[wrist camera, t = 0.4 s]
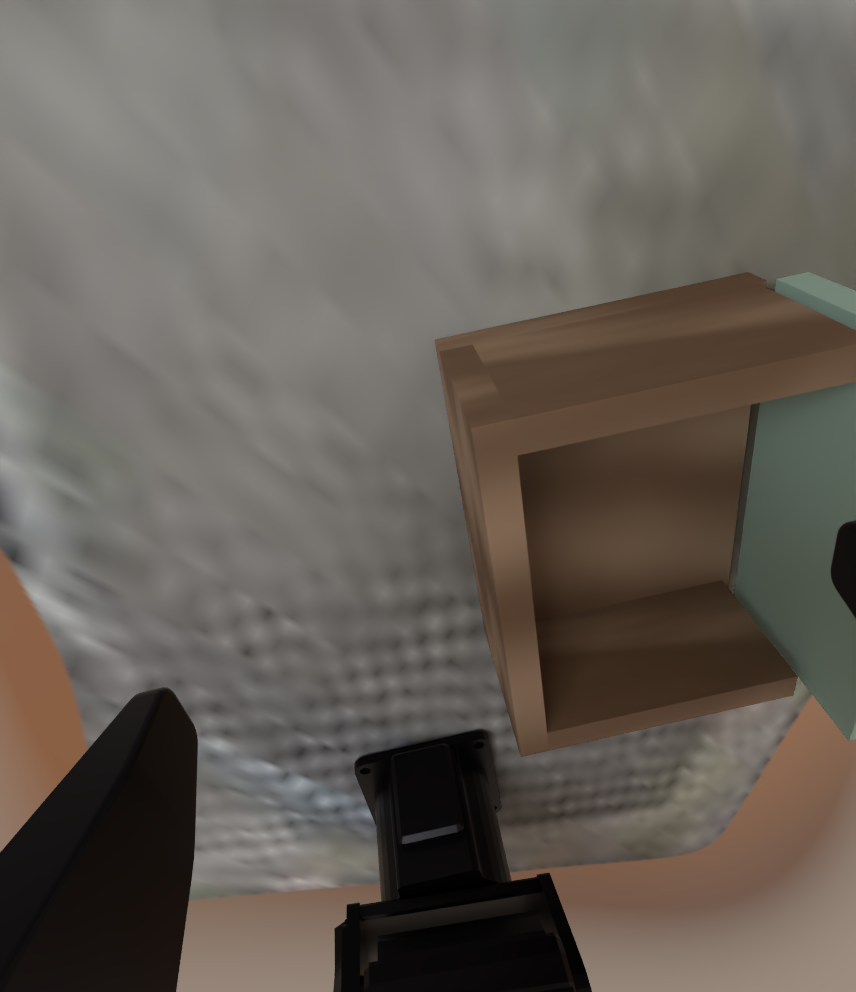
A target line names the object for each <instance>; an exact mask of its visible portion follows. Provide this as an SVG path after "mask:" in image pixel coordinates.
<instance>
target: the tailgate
mask: <svg viewBox="0 0 856 992" xmlns="http://www.w3.org/2000/svg"><path fill="white" fill-rule="evenodd" d="M775 292H777V293H779V294H781V295H783V296H785V297H787V298H789V299H791V300H793V301H795V302H798V303H800V304H802V305H804V306H806V307H808V308H810V309H812V310H814V311H816V312H819V313H821V314H823V315H825V316H827V317H829V318H831V319H833V320H835V321H837V322H839V323H842V324H844V325H846V326H848V327H850V328H852V329H854V330H856V291H855V290H852V289H850V288H848V287H845V286H843V285H840V284H838V283H835V282H833V281H830V280H828V279H825V278H823V277H820V276H818V275H815V274H813V273H810V272H806V273H801V274H797V275H792V276H787V277H783V278H778V279H776V285H775ZM853 520H856V382H852V383H848V384H843V385H838V386H834V387H829V388H825V389H820V390H816V391H811V392H806V393H802V394H797V395H793V396H788V397H784V398H779V399H774V400H770V401H765V402H761V403H760V405H759V412H758V420H757V427H756V434H755V442H754V449H753V457H752V464H751V472H750V479H749V487H748V494H747V501H746V509H745V516H744V524H743V531H742V539H741V546H740V554H739V561H738V568H737V576H736V583H735V591H734V596H735V597H736V598H737V599H738V601H739V602H740V603H741V605H742V606H743V607H744V608H745V610H746V611H747V612H748V613H749V615H750V616H751V617H752V618H753V620H754V621H755V622H756V624H757V625H758V626H759V627H760V629H761V630H762V631H763V632H764V634H765V635H766V636H767V638H768V639H769V640H770V641H771V643H772V644H773V645H774V646H775V648H776V649H777V650H778V652H779V653H780V654H781V655H782V657H783V658H784V659H785V660H786V662H787V663H788V664H789V665H790V667H791V668H792V669H793V671H794V672H795V673H796V674H797V676H798V677H799V678H800V679H801V681H802V682H803V683H804V685H805V686H806V687H807V688H808V690H809V691H810V692H811V693H812V695H813V696H814V697H815V698H816V700H817V701H818V702H819V704H820V705H821V706H822V707H823V709H824V710H825V711H826V712H827V714H828V715H829V716H830V718H831V719H832V720H833V721H834V723H835V724H836V725H837V726H838V728H839V729H840V730H841V731H842V733H843V734H844V735H845V736H846V738H847V739H848V740H849V741H852V740H856V619H855V617H854V616H853V614H852V613H851V611H850V610H849V608H848V607H847V605H846V604H845V602H844V601H843V599H842V598H841V596H840V595H839V593H838V592H837V590H836V588H835V587H834V584H833V582H832V579H831V564H832V559H833V554H834V548H835V543H836V538H837V533H838V530H839V528H840V527H841V526H842V524H844V523H846V522H849V521H853Z"/></svg>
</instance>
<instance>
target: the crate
mask: <svg viewBox="0 0 856 992" xmlns="http://www.w3.org/2000/svg"><path fill="white" fill-rule="evenodd" d="M766 282H767V281H766V280H763V279H761V278H759V277H757V276H755V275H753V274H751V273H744V274H739V275H734V276H730V277H725V278H720V279H716V280H711V281H706V282H702V283H697V284H693V285H688V286H683V287H679V288H674V289H669V290H665V291H660V292H655V293H651V294H646V295H641V296H637V297H632V298H628V299H623V300H618V301H614V302H609V303H604V304H600V305H595V306H590V307H586V308H581V309H576V310H572V311H567V312H562V313H558V314H553V315H549V316H544V317H539V318H535V319H530V320H525V321H521V322H516V323H511V324H507V325H502V326H497V327H493V328H488V329H484V330H479V331H474V332H470V333H465V334H460V335H456V336H451V337H446V338H442V339H437V340H435V344H436V350H437V355H438V361H439V367H440V373H441V379H442V384H443V390H444V396H445V402H446V408H447V413H448V419H449V425H450V431H451V437H452V443H453V448H454V454H455V460H456V466H457V472H458V477H459V483H460V489H461V495H462V501H463V506H464V512H465V518H466V524H467V530H468V535H469V541H470V547H471V553H472V559H473V564H474V570H475V576H476V582H477V588H478V593H479V599H480V605H481V611H482V617H483V623H484V628H485V633H486V637H487V640H488V644H489V647H490V651H491V654H492V658H493V661H494V665H495V668H496V672H497V675H498V679H499V682H500V686H501V689H502V693H503V696H504V700H505V703H506V707H507V710H508V714H509V717H510V721H511V724H512V728H513V731H514V735H515V738H516V741H517V745H518V748H519V752H520V755H521V757H522V756H527V755H531V754H536V753H540V752H545V751H549V750H553V749H558V748H562V747H567V746H571V745H576V744H580V743H584V742H589V741H593V740H598V739H602V738H607V737H611V736H615V735H620V734H624V733H629V732H633V731H637V730H642V729H646V728H651V727H655V726H660V725H664V724H668V723H673V722H677V721H682V720H686V719H691V718H695V717H699V716H704V715H708V714H713V713H717V712H722V711H726V710H730V709H735V708H739V707H744V706H748V705H753V704H757V703H761V702H766V701H770V700H775V699H779V698H784V697H788V696H792V695H793V694H794V690H795V686H796V682H797V677H798V676H797V675H796V674H795V672H794V671H793V670H792V669H791V667H790V666H789V665H788V663H787V662H786V661H785V660H784V658H783V657H782V656H781V655H780V653H779V652H778V651H777V649H776V648H775V647H774V646H773V644H772V643H771V642H770V641H769V639H768V638H767V637H766V636H765V634H764V633H763V632H762V630H761V629H760V628H759V627H758V625H757V624H756V623H755V622H754V620H753V619H752V618H751V616H750V615H749V614H748V613H747V611H746V610H745V609H744V608H743V606H742V605H741V604H740V602H739V601H738V600H737V599H736V597H735V596H734V595H733V594H732V592H731V591H730V590H729V588H728V584H729V576H730V568H731V560H732V552H733V544H734V536H735V528H736V520H737V512H738V504H739V496H740V488H741V481H742V473H743V465H744V457H745V449H746V441H747V433H748V425H749V417H750V409H751V405H752V404H756V403H761V402H765V401H770V400H774V399H779V398H784V397H788V396H793V395H797V394H802V393H806V392H811V391H816V390H820V389H825V388H829V387H834V386H838V385H843V384H848V383H852V382H856V330H854V329H852V328H850V327H848V326H846V325H844V324H842V323H839V322H837V321H835V320H833V319H831V318H829V317H827V316H825V315H823V314H821V313H819V312H816V311H814V310H812V309H810V308H808V307H806V306H804V305H802V304H800V303H798V302H795V301H793V300H791V299H789V298H787V297H785V296H783V295H781V294H779V293H777V292H775V291H772V290H770V289H768V288H766Z"/></svg>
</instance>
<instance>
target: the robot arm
mask: <svg viewBox="0 0 856 992" xmlns="http://www.w3.org/2000/svg"><path fill="white" fill-rule="evenodd" d="M831 579H832V582H833V584H834V587H835V588H836V590H837V592H838V593H839V595H840V596H841V598H842V599H843V601H844V602H845V604H846V605H847V607H848V608H849V610H850V611H851V613H852V614H853V616H854V617H855V619H856V520H853V521H849V522H846V523H844V524H842V526H841V527H840V528H839V530H838V533H837V538H836V543H835V548H834V554H833V559H832V564H831ZM197 752H198V739H197V733H196V729H195V726H194V724H193V722H192V721H191V719H190V718H189V716H188V714H187V713H186V711H185V710H184V708H183V706H182V705H181V703H180V702H179V700H178V698H177V697H176V695H175V694H174V692H173V691H172V690H171V689H169V688H164V687H162V688H158V689H154V690H150V691H146V692H142V693H139V694H137V695H135V696H134V697H133V698H132V699H131V700H130V701H129V702H128V703H127V704H126V706H125V707H124V708H123V709H122V710H121V712H120V713H119V714H118V715H117V716H116V717H115V719H114V720H113V721H112V722H111V723H110V724H109V726H108V727H107V728H106V729H105V730H104V731H103V733H102V734H101V735H100V736H99V737H98V739H97V740H96V741H95V742H94V743H93V744H92V746H91V747H90V748H89V749H88V750H87V751H86V753H85V754H84V755H83V756H82V757H81V759H80V760H79V761H78V762H77V763H76V764H75V765H74V767H73V768H72V769H71V770H70V771H69V773H68V774H67V775H66V776H65V777H64V778H63V780H62V781H61V782H60V783H59V784H58V785H57V787H56V788H55V789H54V790H53V791H52V792H51V794H50V795H49V796H48V797H47V798H46V799H45V801H44V802H43V803H42V804H41V805H40V807H39V808H38V809H37V810H36V811H35V812H34V814H33V815H32V816H31V817H30V818H29V820H28V821H27V822H26V823H25V824H24V825H23V826H22V828H21V829H20V830H19V831H18V832H17V834H16V835H15V836H14V837H13V838H12V839H11V841H10V842H9V843H8V844H7V845H6V846H5V848H4V849H3V850H2V851H1V852H0V992H176V988H177V980H178V973H179V965H180V959H181V951H182V944H183V937H184V930H185V922H186V915H187V908H188V901H189V893H190V886H191V879H192V870H193V861H194V847H195V820H196V786H197ZM354 764H355V775H356V777H357V780H358V782H359V785H360V787H361V790H362V792H363V795H364V797H365V799H366V802H367V804H368V807H369V809H370V812H371V814H372V817H373V819H374V821H375V824H376V829H377V844H378V858H379V873H380V888H381V902H376V903H369V904H363V905H360V903H354V904H347V919H346V920H345V922H343V923H342V924H341V925H339V926H338V927H336V928H335V979H334V992H592V991H591V987H590V983H589V980H588V976H587V973H586V970H585V967H584V964H583V961H582V958H581V956H580V953H579V950H578V948H577V945H576V942H575V940H574V937H573V934H572V932H571V929H570V926H569V924H568V921H567V918H566V916H565V913H564V910H563V908H562V905H561V902H560V900H559V897H558V894H557V892H556V889H555V886H554V884H553V881H552V878H551V876H550V873H544V874H538V875H537V877H534V878H528V879H521V880H515V881H511V877H510V872H509V868H508V863H507V859H506V855H505V850H504V846H503V842H502V837H501V833H500V829H499V824H498V820H497V816H496V812H498V811H499V810H500V809H501V801H500V796H499V791H498V786H497V780H496V775H495V770H494V765H493V760H492V755H491V750H490V744H489V740H488V736H487V734H486V733H484V732H474V733H469V734H465V735H460V736H456V737H452V738H447V739H443V740H438V741H434V742H429V743H425V744H420V745H416V746H412V747H407V748H403V749H398V750H394V751H389V752H385V753H380V754H376V755H372V756H367V757H363V758H360V759H358V760H357V761H356V762H355V763H354Z"/></svg>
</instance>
